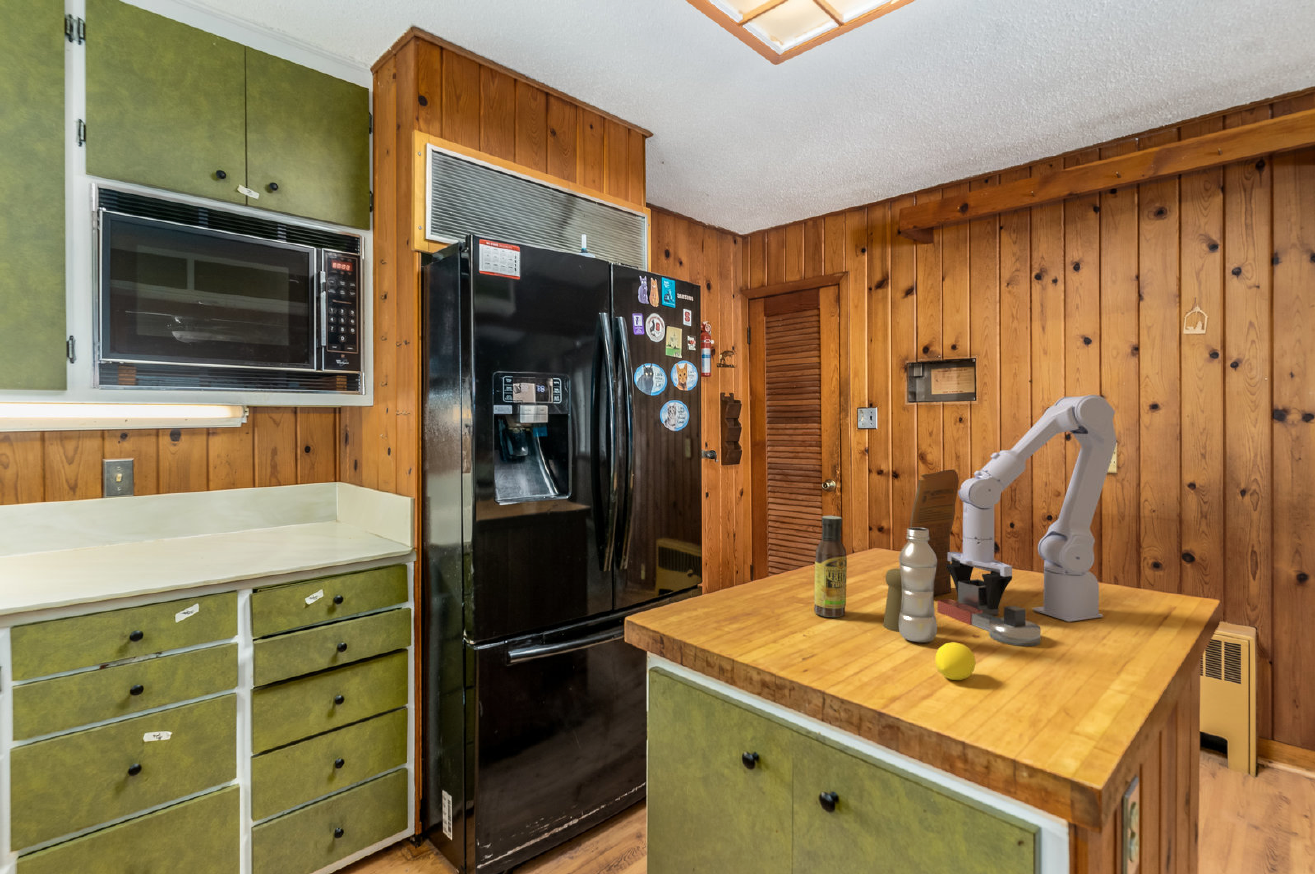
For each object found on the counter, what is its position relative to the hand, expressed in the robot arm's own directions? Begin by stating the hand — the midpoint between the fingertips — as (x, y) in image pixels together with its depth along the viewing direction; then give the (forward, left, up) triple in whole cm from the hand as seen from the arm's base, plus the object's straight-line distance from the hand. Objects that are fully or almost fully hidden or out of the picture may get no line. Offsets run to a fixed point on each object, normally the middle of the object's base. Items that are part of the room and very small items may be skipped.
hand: (977, 603), depth 127 cm
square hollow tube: (0, 0, -2) cm, 2 cm away
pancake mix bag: (-1, -14, -2) cm, 14 cm away
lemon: (+29, +24, -2) cm, 38 cm away
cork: (+21, +2, -2) cm, 21 cm away
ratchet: (+6, +7, -2) cm, 10 cm away
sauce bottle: (+29, -9, -2) cm, 30 cm away
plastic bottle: (+23, +9, -2) cm, 25 cm away
